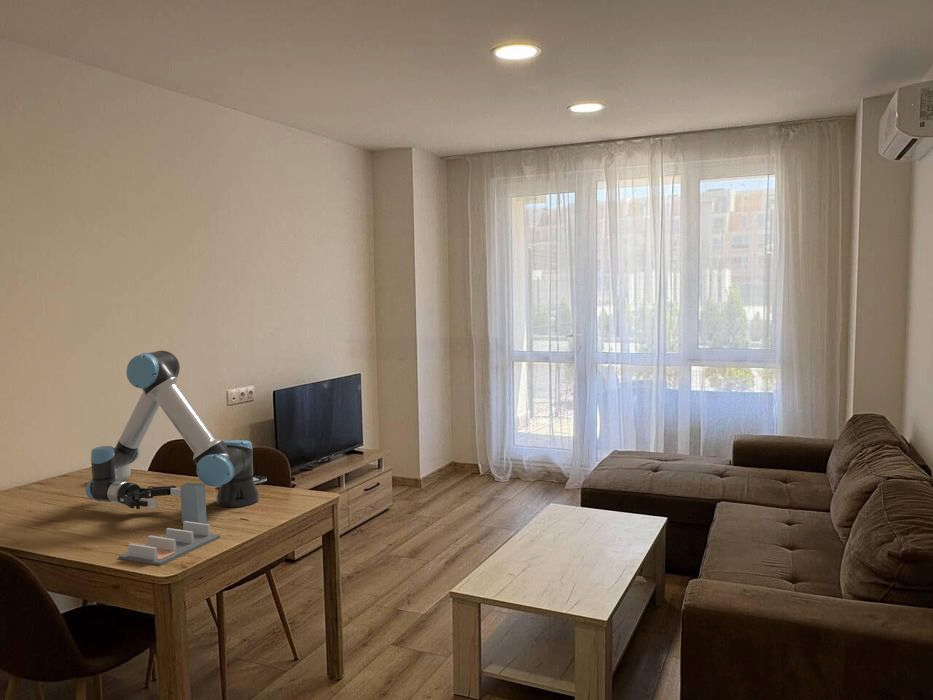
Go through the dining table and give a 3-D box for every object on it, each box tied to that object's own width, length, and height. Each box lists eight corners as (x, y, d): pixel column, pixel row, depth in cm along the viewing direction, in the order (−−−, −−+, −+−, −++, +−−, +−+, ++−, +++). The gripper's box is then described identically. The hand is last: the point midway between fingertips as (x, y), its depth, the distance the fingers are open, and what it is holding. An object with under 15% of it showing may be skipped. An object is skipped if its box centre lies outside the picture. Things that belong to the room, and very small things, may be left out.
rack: (180, 531, 239) (180, 519, 239) (220, 537, 233) (219, 524, 233) (118, 558, 216) (118, 544, 216) (160, 565, 210) (159, 550, 210)
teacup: (108, 478, 310) (107, 459, 309) (135, 477, 311) (134, 458, 310) (96, 486, 296) (94, 467, 295) (124, 485, 297) (123, 466, 296)
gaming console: (223, 492, 287) (223, 486, 287) (215, 488, 294) (214, 481, 293) (270, 483, 299) (269, 477, 299) (260, 479, 306) (260, 473, 306)
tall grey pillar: (190, 519, 252) (188, 482, 251) (206, 521, 250) (205, 484, 249) (181, 522, 249) (180, 485, 248) (198, 525, 246) (196, 487, 245)
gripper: (152, 494, 272) (197, 499, 264) (96, 513, 249) (143, 520, 241) (151, 474, 271) (196, 479, 263) (94, 491, 248) (142, 497, 240)
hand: (171, 498), depth 252 cm, fingers open, 13 cm apart
